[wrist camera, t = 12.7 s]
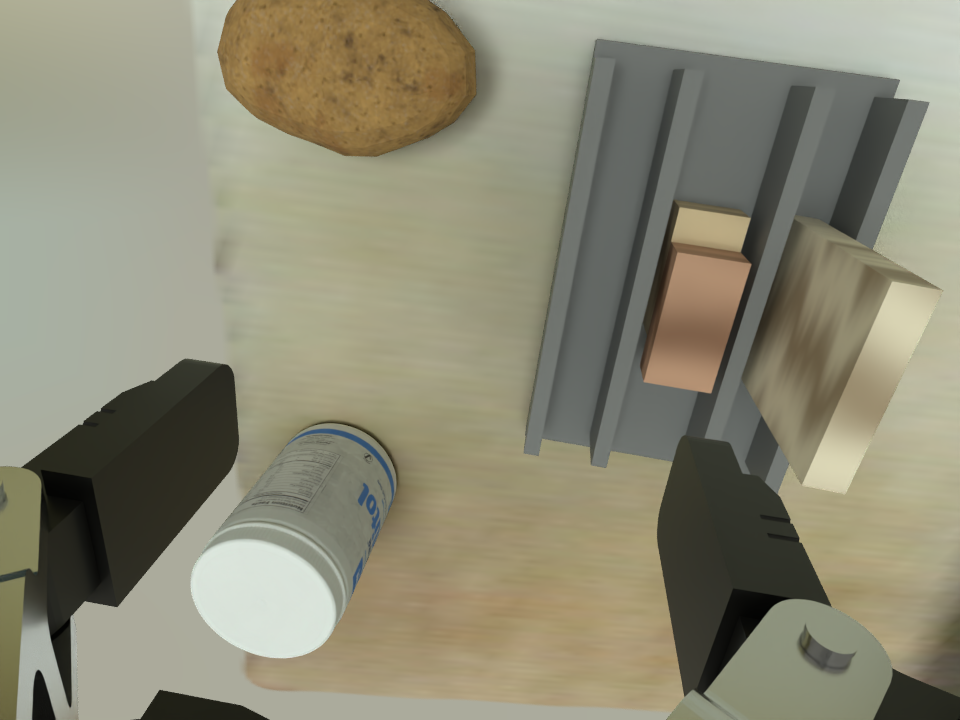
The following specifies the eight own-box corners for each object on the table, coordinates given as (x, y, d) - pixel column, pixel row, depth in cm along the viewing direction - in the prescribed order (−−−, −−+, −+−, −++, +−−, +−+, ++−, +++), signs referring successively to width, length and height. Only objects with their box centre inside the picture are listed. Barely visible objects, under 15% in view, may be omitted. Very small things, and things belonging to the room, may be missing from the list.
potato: (478, 163, 41) (459, 182, 34) (266, 133, 42) (202, 145, 35) (498, -11, 37) (481, -32, 30) (263, -40, 38) (190, -68, 31)
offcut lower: (673, 199, 39) (679, 207, 37) (740, 209, 39) (750, 218, 36) (642, 322, 42) (646, 336, 40) (704, 332, 42) (712, 346, 40)
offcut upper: (671, 241, 37) (677, 252, 35) (740, 252, 37) (751, 263, 35) (639, 365, 41) (643, 382, 39) (703, 375, 41) (711, 393, 38)
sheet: (785, 213, 38) (892, 281, 26) (819, 219, 38) (943, 290, 26) (732, 363, 43) (801, 485, 30) (762, 368, 42) (845, 494, 30)
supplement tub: (411, 513, 53) (358, 661, 40) (305, 523, 55) (220, 667, 41) (381, 409, 49) (310, 533, 36) (268, 424, 51) (162, 547, 38)
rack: (596, 40, 37) (600, 34, 32) (887, 79, 36) (938, 80, 31) (526, 425, 48) (521, 465, 43) (749, 464, 47) (770, 510, 42)
